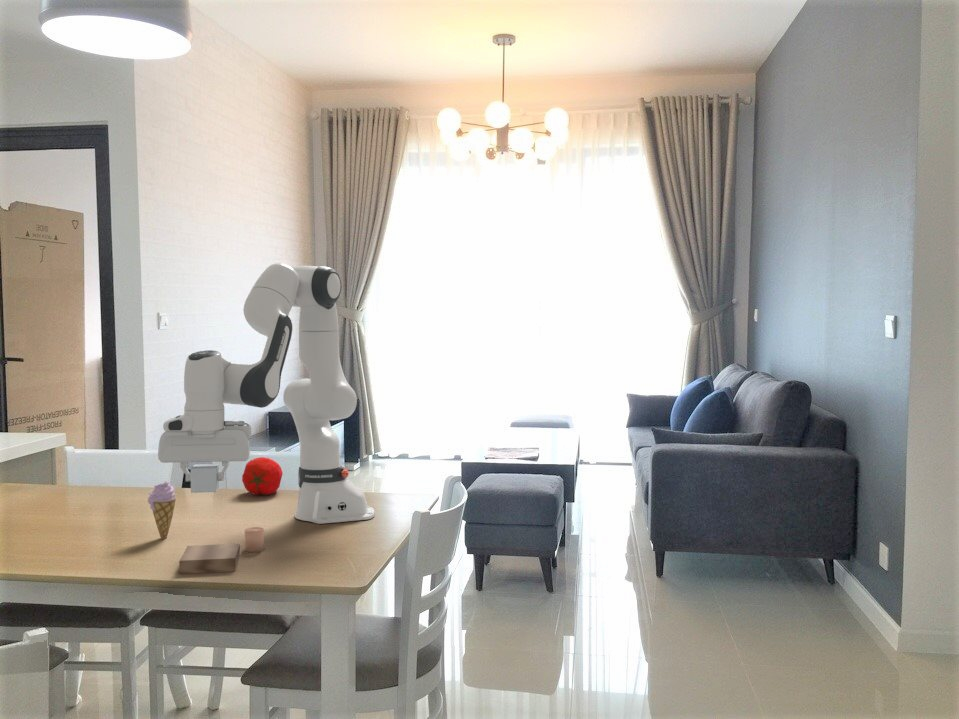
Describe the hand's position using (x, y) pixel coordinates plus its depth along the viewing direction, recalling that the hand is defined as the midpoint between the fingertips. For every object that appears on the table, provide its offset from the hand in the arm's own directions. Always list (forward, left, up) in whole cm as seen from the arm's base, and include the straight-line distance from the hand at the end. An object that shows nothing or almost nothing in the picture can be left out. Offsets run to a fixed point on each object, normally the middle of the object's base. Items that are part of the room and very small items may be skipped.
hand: (205, 480), depth 198 cm
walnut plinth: (-1, +1, -20) cm, 20 cm away
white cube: (0, 0, -2) cm, 2 cm away
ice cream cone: (+14, -24, -20) cm, 34 cm away
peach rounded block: (-10, -10, -20) cm, 24 cm away
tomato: (-8, -73, -20) cm, 76 cm away
